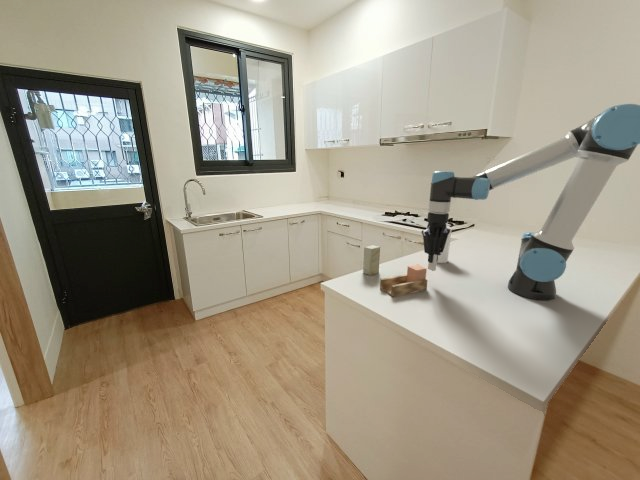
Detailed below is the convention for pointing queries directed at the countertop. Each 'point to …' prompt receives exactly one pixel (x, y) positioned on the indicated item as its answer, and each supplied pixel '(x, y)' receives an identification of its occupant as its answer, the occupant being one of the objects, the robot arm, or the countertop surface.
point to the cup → (445, 251)
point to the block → (416, 273)
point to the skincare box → (371, 259)
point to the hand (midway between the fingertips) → (431, 269)
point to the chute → (401, 285)
